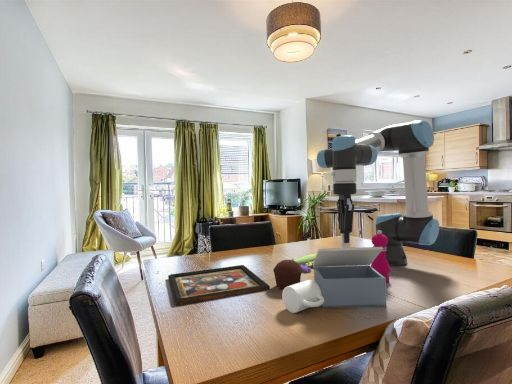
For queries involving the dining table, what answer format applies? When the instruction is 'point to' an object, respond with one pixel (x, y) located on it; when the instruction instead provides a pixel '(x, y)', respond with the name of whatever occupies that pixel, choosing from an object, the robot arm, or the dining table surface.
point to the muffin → (287, 273)
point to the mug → (302, 296)
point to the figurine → (304, 260)
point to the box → (351, 286)
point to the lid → (346, 256)
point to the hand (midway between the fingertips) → (345, 251)
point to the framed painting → (214, 284)
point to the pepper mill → (381, 255)
